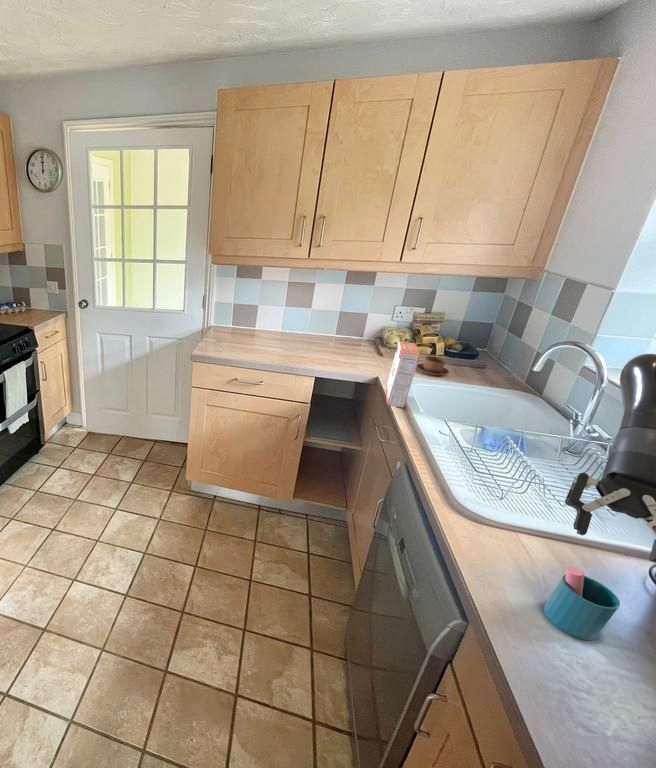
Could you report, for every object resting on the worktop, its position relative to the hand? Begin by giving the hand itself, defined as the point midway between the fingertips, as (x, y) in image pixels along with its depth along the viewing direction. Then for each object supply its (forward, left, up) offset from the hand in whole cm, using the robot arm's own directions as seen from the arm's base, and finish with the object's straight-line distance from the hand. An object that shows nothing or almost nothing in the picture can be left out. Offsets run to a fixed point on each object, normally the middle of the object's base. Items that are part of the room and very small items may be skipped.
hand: (617, 547), depth 68 cm
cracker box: (+25, -87, -18) cm, 92 cm away
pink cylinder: (0, +1, -17) cm, 17 cm away
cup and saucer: (+9, -126, -18) cm, 128 cm away
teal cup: (0, +1, -17) cm, 17 cm away
